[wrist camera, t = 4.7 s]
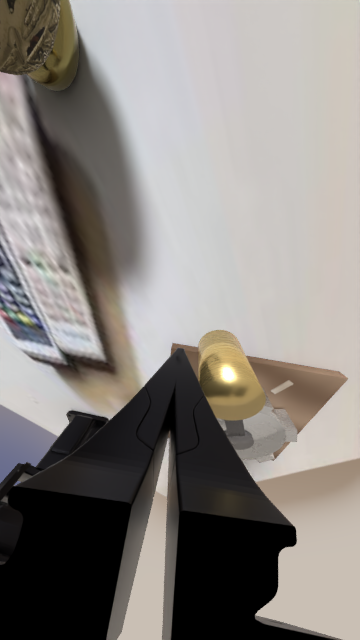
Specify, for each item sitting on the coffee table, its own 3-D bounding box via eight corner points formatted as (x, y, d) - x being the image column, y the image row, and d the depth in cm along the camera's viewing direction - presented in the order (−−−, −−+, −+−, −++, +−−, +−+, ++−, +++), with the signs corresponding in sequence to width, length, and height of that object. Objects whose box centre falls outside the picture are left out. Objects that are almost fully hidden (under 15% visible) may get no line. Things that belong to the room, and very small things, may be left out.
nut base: (270, 453, 19) (274, 461, 18) (162, 429, 20) (161, 437, 19) (339, 371, 13) (349, 379, 12) (172, 343, 14) (171, 348, 13)
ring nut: (283, 440, 16) (325, 527, 11) (196, 441, 19) (196, 512, 13) (286, 306, 10) (390, 360, 5) (152, 333, 12) (118, 388, 7)
